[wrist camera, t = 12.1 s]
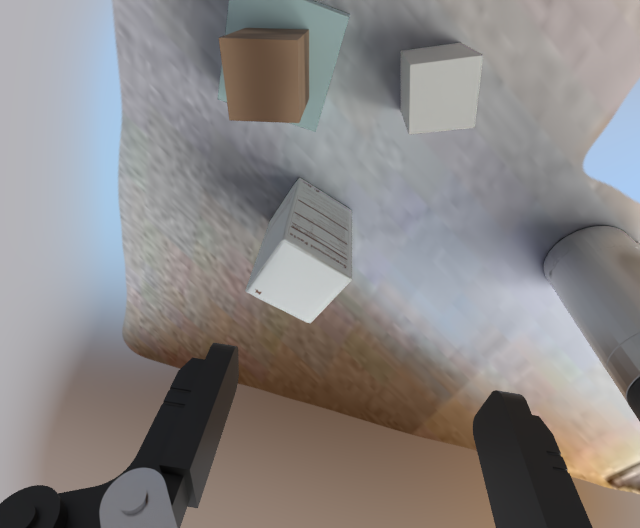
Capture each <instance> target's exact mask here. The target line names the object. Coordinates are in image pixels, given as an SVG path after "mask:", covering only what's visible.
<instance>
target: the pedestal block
mask: <svg viewBox="0 0 640 528" xmlns="http://www.w3.org/2000/svg"><path fill="white" fill-rule="evenodd" d="M349 16H350V14H348V13H345V12H343V11H340V10H338V9H335V8H332V7H330V6H327V5H324V4H322V3H319V2H316V1H314V0H229V5H228V13H227V22H226V30H225V35H228V34H230V33H233V32H236V31H238V30H241V29H243V28H275V29H309V100H308V103H307V105H306V108H305V110H304V113H303V115H302V118H301V120H300V122H299V123H290V124H293V125H296V126H299V127H302V128H305V129H308V130H311V131H314V132H316V129H317V125H318V122H319V119H320V115H321V112H322V108H323V105H324V102H325V98H326V95H327V91H328V88H329V85H330V81H331V78H332V74H333V71H334V68H335V64H336V61H337V57H338V54H339V51H340V47H341V44H342V40H343V37H344V34H345V30H346V27H347V23H348V20H349ZM218 100H221V101H224V102H227V97H226V89H225V82H224V74H223V67H222V65H221V74H220V82H219V91H218Z"/></svg>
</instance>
